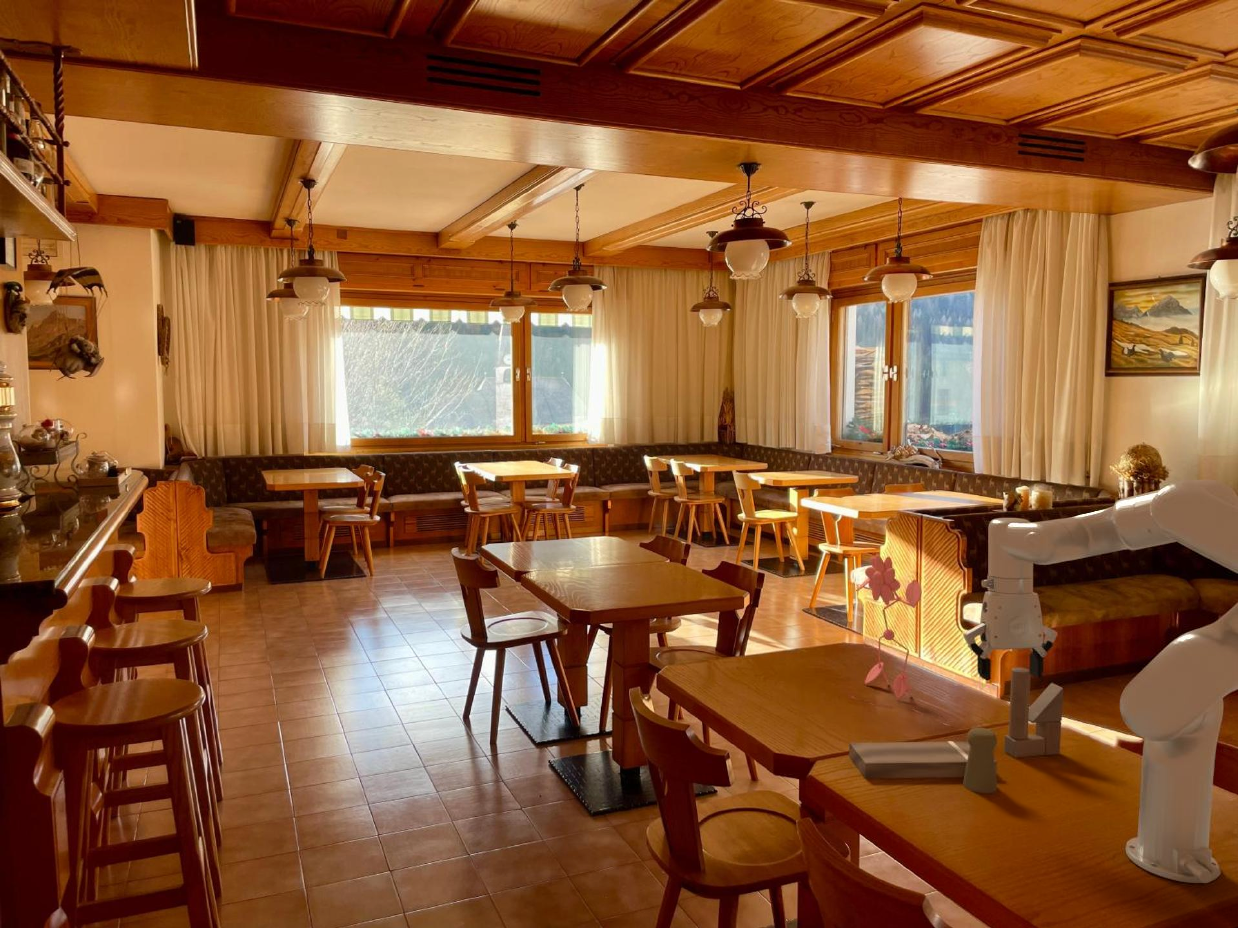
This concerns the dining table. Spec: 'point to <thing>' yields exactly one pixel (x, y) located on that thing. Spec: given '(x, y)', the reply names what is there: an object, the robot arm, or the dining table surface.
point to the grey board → (910, 759)
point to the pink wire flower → (884, 586)
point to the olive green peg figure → (981, 761)
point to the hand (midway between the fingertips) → (1010, 677)
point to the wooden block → (1033, 718)
